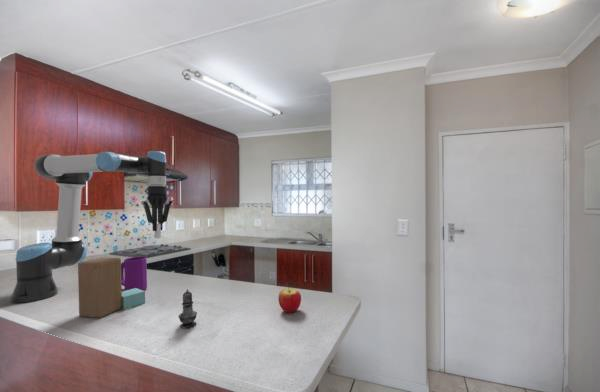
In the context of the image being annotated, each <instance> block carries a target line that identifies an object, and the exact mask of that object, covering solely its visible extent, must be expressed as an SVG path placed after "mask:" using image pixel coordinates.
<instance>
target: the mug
mask: <svg viewBox="0 0 600 392" xmlns="http://www.w3.org/2000/svg"><path fill="white" fill-rule="evenodd" d="M147 262H148V261H147V257H146V256H134V257H133V256H132V257H129V258H125V259H124V260H123V262H122V261H121V285H122V287H124V291H126V290H130V289H134V288H137V289H140V290H143V291H146V290H147V289H148V271H147V270H148V269H147V266H148V265H147Z"/></svg>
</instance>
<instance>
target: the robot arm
mask: <svg viewBox="0 0 600 392" xmlns="http://www.w3.org/2000/svg"><path fill="white" fill-rule="evenodd" d="M33 166H34V167H33V168H34V171H35V172H36V174H38V175H39V176H40V177H42V178H45V179H46V180H47V179H48V180H54V181H55V184H56V186H58V187H59V189H58V190H59V191H58V206H57V219H56V235H55V237H53V238H52V239H51V242H39V243H33V244H28V245H26V246H22V247H20V248H19V249H17V251H16V256H15V262H16V265H15V266H16V283H15V286H14V289H13V291H12V295H11V297H10V298H11V303H13V304H23V303H31V302H36V301H39V300H40V301H41V300H44V299H45V300H46V299H48V298H51V297H53V296H56V295H57V294H59V292H58V286H57V285H56V282H55V280H54V278H53V270H56V269H60V268H65V267H71V266H73V265H74V266H75V265H78V264H79V263H80V262H83V261H85V260H84V259H85V258H86V256H87V255H88V246H87V245H86V243H85V241H83V238H82V237H81V236H80V233H79V232H80V222H81V220H80V219H81V207H82V206H81V203H82V190H83V188H84V187H85V186H86V185H87V182H88V181H90V180H91V178H92V177H93V173H100V172H101V173H102V172H119V173H121V172H122V173H127V174H129V175H130V174H133V175H136V174H147V185H148V186H147V197H146V199H145V200H144V201H141V205H142V206H143V208H144V212H145V216H146V220H147V223H150V224H151V225H152V231H153V232H154V239H161V238H162V235H161V233H162V231H163V224H164V223H165V222H168V218H169V213H170V208H171V206H172V204H173V201H172V200H169V199H168V197H167V156H166V153H165V152H164V151H160V150H159V151H158V150H150V151H147V155H146V156H136V155H135V156H134V155H129V154H128V155H127V154H122V153H117V152H113V151H101V152H100V153H93V154H79V155H78V154H77V155H59V154H55V153H54V154H52V153H51V154H43V155H40V156H39V157H37V158H36V159H35V162H34V164H33ZM149 204H150V205H149ZM150 207H151V208H150Z"/></svg>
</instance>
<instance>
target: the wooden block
mask: <svg viewBox="0 0 600 392" xmlns="http://www.w3.org/2000/svg"><path fill="white" fill-rule="evenodd" d="M121 263H122V260H121V258H120V257H111V256H110V257H107V256H105V257H103V256H101V257H97V258H93V259H92V258H91V259H88V260H82V261H81V262H80V263H77V271H78V272H77V274H78V275H77V277H78V281H77V282H78V286H77V287H78V315H79V316H80V317H84V318H85V317H86V318H87V317H88V318H93V319H94V318H97V319H100V318H102V317H105V316H107V315H109V314H112V313H113V312H117V311H118V310H120V309H121V310H122V289H123V285H121Z"/></svg>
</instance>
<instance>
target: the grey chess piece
mask: <svg viewBox="0 0 600 392" xmlns="http://www.w3.org/2000/svg"><path fill="white" fill-rule="evenodd" d="M193 304H194V301H193V293H192V292H191V291H189V289H186V291H185V292H183V294H182V303H181V305H182V312H181V313H180V314H178V316H177V317H178V318H179V321H180V322H181V324H180V325H179V329H180V330H181V329H182V330H188V329H192V328H194V327H196V326H197V322H196V318H197V315H198V312H197V311H195V310H194V307H193Z"/></svg>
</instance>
